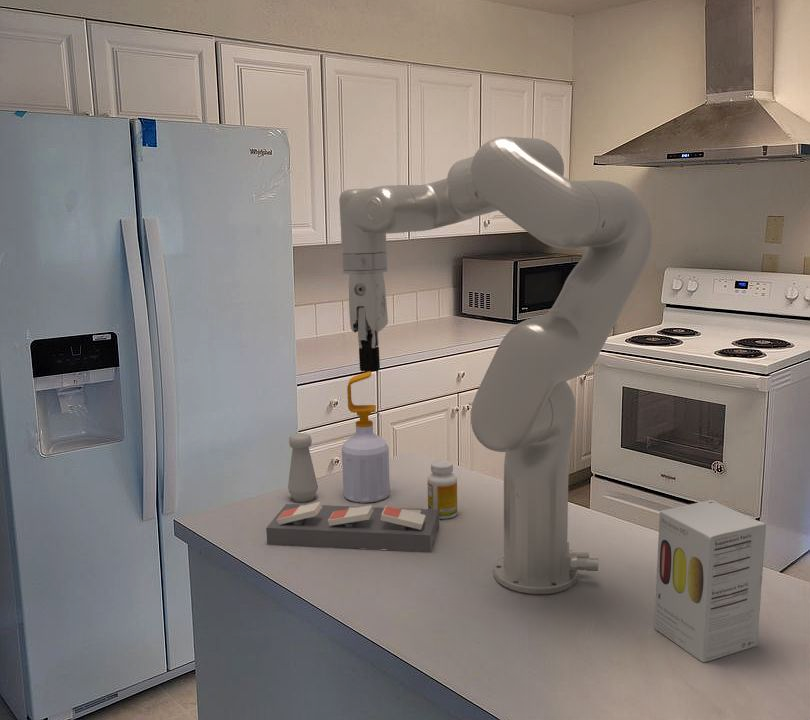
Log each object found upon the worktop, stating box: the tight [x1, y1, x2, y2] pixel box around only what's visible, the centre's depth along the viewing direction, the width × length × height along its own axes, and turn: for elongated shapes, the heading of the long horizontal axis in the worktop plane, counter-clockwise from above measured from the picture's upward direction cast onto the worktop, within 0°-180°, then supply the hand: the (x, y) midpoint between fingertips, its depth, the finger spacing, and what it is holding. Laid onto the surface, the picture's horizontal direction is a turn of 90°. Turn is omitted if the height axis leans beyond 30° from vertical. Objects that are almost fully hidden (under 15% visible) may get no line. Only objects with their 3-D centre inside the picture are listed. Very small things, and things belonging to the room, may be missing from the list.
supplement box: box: [653, 499, 767, 663], centre depth 104 cm, size 10×9×17 cm
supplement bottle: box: [427, 460, 458, 520], centre depth 148 cm, size 5×5×10 cm
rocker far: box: [277, 501, 323, 525], centre depth 139 cm, size 7×4×1 cm, turn 80°
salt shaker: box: [287, 432, 319, 503], centre depth 157 cm, size 6×6×13 cm
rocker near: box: [380, 505, 426, 530], centre depth 136 cm, size 7×4×1 cm, turn 81°
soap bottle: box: [341, 371, 391, 504], centre depth 157 cm, size 9×9×25 cm
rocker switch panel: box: [265, 503, 440, 553], centre depth 140 cm, size 28×11×4 cm, turn 80°
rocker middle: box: [328, 504, 374, 526], centre depth 138 cm, size 7×4×1 cm, turn 80°
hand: (370, 370), depth 140 cm, fingers closed
